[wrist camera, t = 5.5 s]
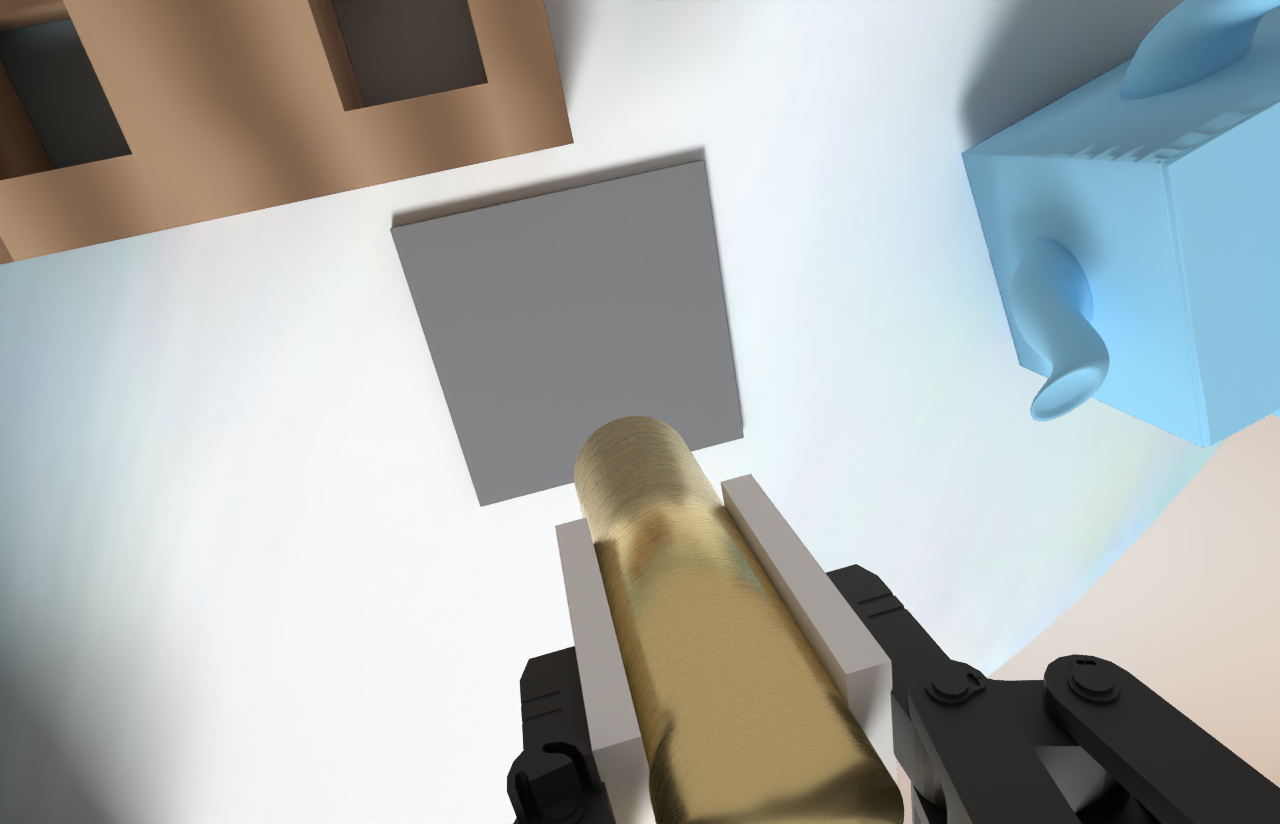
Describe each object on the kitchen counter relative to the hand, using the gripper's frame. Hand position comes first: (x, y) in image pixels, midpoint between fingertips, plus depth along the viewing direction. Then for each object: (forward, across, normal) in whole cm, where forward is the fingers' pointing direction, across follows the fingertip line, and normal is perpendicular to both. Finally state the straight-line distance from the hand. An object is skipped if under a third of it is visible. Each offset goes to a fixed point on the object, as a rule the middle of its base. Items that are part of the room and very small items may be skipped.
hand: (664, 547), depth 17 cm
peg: (+4, 0, 0) cm, 4 cm away
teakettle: (+19, -26, -1) cm, 32 cm away
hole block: (+18, +10, -14) cm, 25 cm away
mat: (+18, 0, 0) cm, 18 cm away
